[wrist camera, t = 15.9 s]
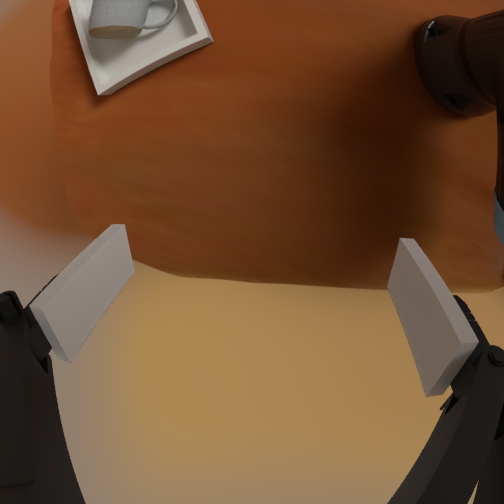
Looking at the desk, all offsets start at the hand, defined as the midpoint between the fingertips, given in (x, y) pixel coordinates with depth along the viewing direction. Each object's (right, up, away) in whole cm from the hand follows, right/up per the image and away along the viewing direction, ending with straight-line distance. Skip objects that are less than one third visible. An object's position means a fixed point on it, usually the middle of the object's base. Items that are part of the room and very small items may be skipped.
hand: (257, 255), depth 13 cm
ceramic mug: (-15, +32, +13) cm, 37 cm away
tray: (-16, +32, +13) cm, 38 cm away
